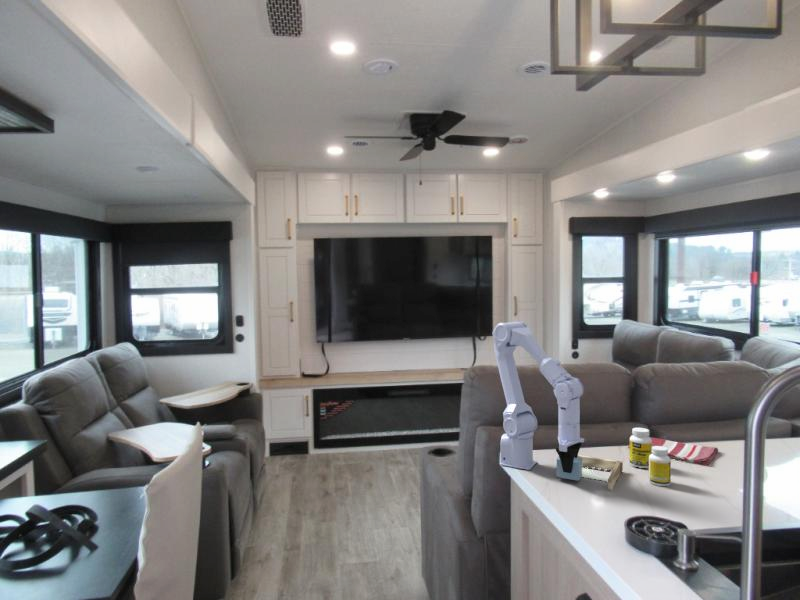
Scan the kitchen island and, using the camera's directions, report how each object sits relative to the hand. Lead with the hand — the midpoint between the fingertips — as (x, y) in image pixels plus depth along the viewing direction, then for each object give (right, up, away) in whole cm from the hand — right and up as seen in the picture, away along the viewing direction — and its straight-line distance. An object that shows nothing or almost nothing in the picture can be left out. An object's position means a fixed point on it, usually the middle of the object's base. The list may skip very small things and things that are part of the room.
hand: (569, 469), depth 144 cm
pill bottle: (+25, -3, +11) cm, 27 cm away
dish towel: (+41, -2, +23) cm, 47 cm away
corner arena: (+7, -3, +3) cm, 8 cm away
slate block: (0, -2, 0) cm, 2 cm away
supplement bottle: (+24, -3, -3) cm, 24 cm away
